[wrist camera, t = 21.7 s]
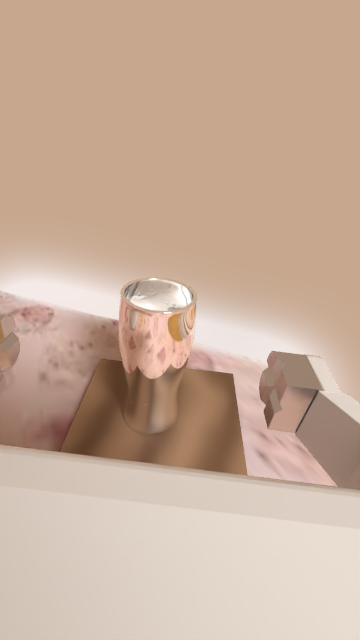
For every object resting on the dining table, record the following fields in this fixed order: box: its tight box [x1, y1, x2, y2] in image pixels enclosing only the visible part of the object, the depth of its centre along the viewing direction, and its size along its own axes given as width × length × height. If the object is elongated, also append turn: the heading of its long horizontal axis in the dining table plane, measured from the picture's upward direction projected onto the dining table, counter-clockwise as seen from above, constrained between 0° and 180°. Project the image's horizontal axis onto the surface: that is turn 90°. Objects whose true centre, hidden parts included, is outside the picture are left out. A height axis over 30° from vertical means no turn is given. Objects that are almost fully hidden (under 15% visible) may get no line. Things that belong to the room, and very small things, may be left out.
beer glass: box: [118, 277, 197, 434], centre depth 29 cm, size 7×7×15 cm
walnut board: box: [60, 359, 247, 475], centre depth 33 cm, size 18×16×2 cm
